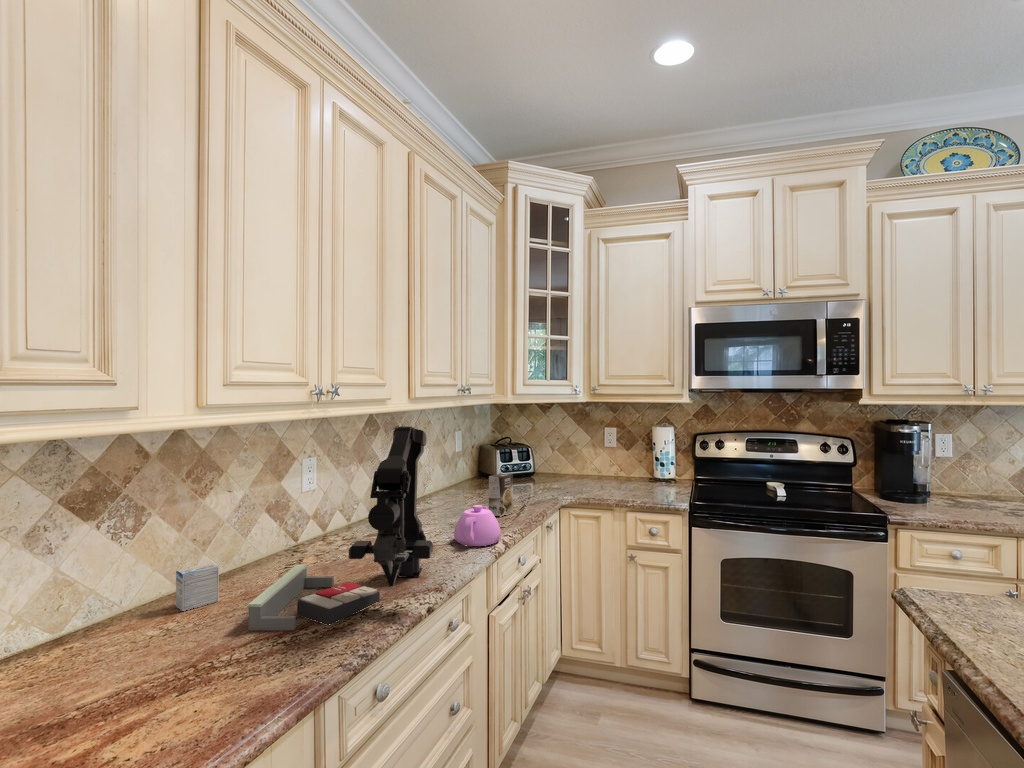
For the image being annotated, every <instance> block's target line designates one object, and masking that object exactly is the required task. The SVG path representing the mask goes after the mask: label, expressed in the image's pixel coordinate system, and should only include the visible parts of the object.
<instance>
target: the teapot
mask: <svg viewBox="0 0 1024 768" xmlns="http://www.w3.org/2000/svg"><path fill="white" fill-rule="evenodd" d="M453 537H454V540H455V541H456V542H457V543H458V544H459V543H460V544H463V545H467V546H466V547H468V546H485V545H490V546H492V545H491V544H493V545H495V544H497V542H498V541H499V540H500V538H501V537H502V531H501V526H500V524H499V521H498V519H497V517H495V516H494V514H493V513H492V512H491V511H490V510H489V506H486V505H485V506H483V505H480V504H475V505H472V508H469V509H467V510H464V511H463V512H462V513H461V515H460V517H459V519H458V520H457V522H456V524H455V527H454V531H453ZM494 543H495V544H494ZM463 545H462V546H463ZM485 547H486V546H485Z"/></svg>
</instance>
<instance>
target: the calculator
mask: <svg viewBox="0 0 1024 768" xmlns="http://www.w3.org/2000/svg"><path fill="white" fill-rule="evenodd" d="M380 594H381V593H380V591H378V589H376V588H373V587H369V586H364V585H363V586H362V585H361V584H357V583H354V582H349V581H348V582H345V583H342V584H339V585H336V586H335V585H334V586H333V587H332V588H326V589H323V590H320V591H316V593H315V594H309V595H306V596H303V597H300V599H298V600H297V609H296V610H297V611H296V616H298V615H300V616H299V617H301V616H303V617H306V618H309V619H312V620H316V621H318V622H322V623H324V624H327V625H329V624H332V623H334V622H336V621H338V620H341V619H343V618H345V617H346V618H348V617H350V616H349V615H351V614H353V613H356V612H358V611H360V610H362V609H364V608H366V607H368V606H370V605H372V604H374V603H376V602H379V603H380V598H381V595H380ZM358 613H359V612H358ZM356 614H357V613H356ZM353 615H354V614H353ZM347 616H348V617H347ZM351 616H352V615H351ZM303 617H302V618H303ZM306 618H305V619H306ZM346 618H345V619H346ZM309 619H308V620H309ZM312 620H311V621H312ZM343 620H344V619H343ZM341 621H342V620H341ZM318 622H317V623H318ZM324 624H323V625H324ZM334 624H335V623H334ZM327 625H326V626H327ZM332 625H333V624H332Z"/></svg>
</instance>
